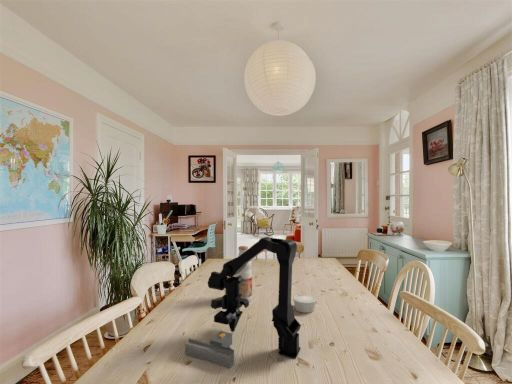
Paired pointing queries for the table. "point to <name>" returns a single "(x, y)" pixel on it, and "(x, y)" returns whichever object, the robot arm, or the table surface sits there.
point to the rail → (210, 352)
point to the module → (222, 339)
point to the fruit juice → (245, 277)
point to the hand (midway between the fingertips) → (232, 331)
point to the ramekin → (304, 303)
